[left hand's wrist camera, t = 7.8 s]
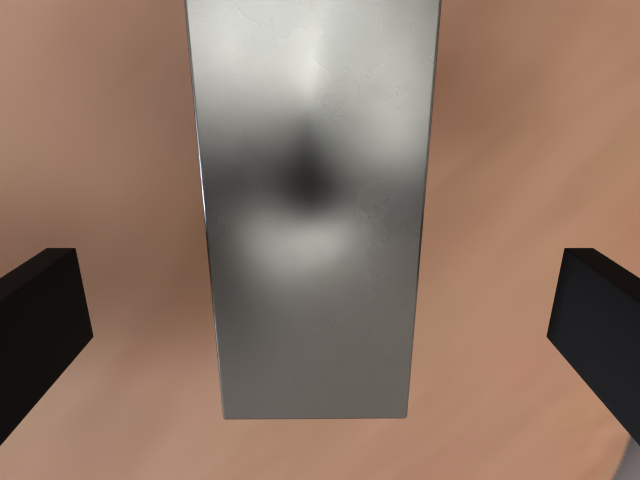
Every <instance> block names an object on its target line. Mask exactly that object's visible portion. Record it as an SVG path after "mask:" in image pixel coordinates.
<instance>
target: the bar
mask: <svg viewBox="0 0 640 480" xmlns="http://www.w3.org/2000/svg"><path fill="white" fill-rule="evenodd" d="M441 3H442V0H184V6H185V17H186V28H187V38H188V49H189V60H190V70H191V81H192V91H193V102H194V113H195V123H196V134H197V144H198V155H199V166H200V176H201V187H202V198H203V208H204V219H205V229H206V240H207V251H208V261H209V272H210V283H211V293H212V304H213V314H214V325H215V336H216V346H217V357H218V368H219V378H220V389H221V399H222V410H223V418H224V419H364V418H406V417H407V409H408V397H409V385H410V373H411V361H412V349H413V337H414V325H415V313H416V302H417V290H418V278H419V266H420V254H421V242H422V230H423V218H424V206H425V194H426V182H427V170H428V158H429V146H430V134H431V122H432V110H433V98H434V86H435V75H436V63H437V51H438V39H439V27H440V15H441Z"/></svg>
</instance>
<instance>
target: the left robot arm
mask: <svg viewBox="0 0 640 480" xmlns="http://www.w3.org/2000/svg"><path fill="white" fill-rule="evenodd" d="M92 338H93V332H92V327H91V322H90V317H89V312H88V308H87V303H86V298H85V293H84V288H83V283H82V278H81V273H80V268H79V263H78V258H77V253H76V248H46V249H45V250H43V251H42V252H40V253H39V254H37V255H36V256H34V257H32V258H31V259H29V260H28V261H26V262H25V263H23V264H22V265H20V266H19V267H17V268H15V269H14V270H12V271H11V272H9V273H8V274H6V275H5V276H3V277H2V278H0V446H1V444H2V443H3V442H4V441H5V440H6V439H7V437H8V436H9V435H10V434H11V433H12V431H13V430H14V429H15V428H16V427H17V426H18V424H19V423H20V422H21V421H22V420H23V419H24V417H25V416H26V415H27V414H28V413H29V412H30V410H31V409H32V408H33V407H34V406H35V405H36V403H37V402H38V401H39V400H40V399H41V398H42V396H43V395H44V394H45V393H46V392H47V391H48V389H49V388H50V387H51V386H52V385H53V383H54V382H55V381H56V380H57V379H58V378H59V376H60V375H61V374H62V373H63V372H64V371H65V369H66V368H67V367H68V366H69V365H70V364H71V362H72V361H73V360H74V359H75V358H76V357H77V355H78V354H79V353H80V352H81V351H82V350H83V348H84V347H85V346H86V345H87V344H88V343H89V341H90V340H91V339H92ZM547 338H548V339H549V340H550V341H551V343H552V344H553V345H554V346H555V347H556V348H557V350H558V351H559V352H560V353H561V354H562V355H563V357H564V358H565V359H566V360H567V361H568V362H569V364H570V365H571V366H572V367H573V368H574V369H575V371H576V372H577V373H578V374H579V375H580V376H581V378H582V379H583V380H584V381H585V382H586V383H587V385H588V386H589V387H590V388H591V389H592V391H593V392H594V393H595V394H596V395H597V396H598V398H599V399H600V400H601V401H602V402H603V403H604V405H605V406H606V407H607V408H608V409H609V410H610V412H611V413H612V414H613V415H614V416H615V417H616V419H617V420H618V421H619V422H620V423H621V424H622V426H623V427H624V428H625V429H626V430H627V431H628V433H629V434H630V435H631V436H632V437H633V438H634V440H635V441H636V442H637V443H638V444H639V446H640V278H638V277H637V276H635V275H634V274H632V273H631V272H629V271H628V270H626V269H625V268H623V267H621V266H620V265H618V264H617V263H615V262H614V261H612V260H611V259H609V258H608V257H606V256H604V255H603V254H601V253H600V252H598V251H597V250H595V249H594V248H564V253H563V258H562V263H561V268H560V273H559V278H558V283H557V288H556V293H555V298H554V303H553V308H552V312H551V317H550V322H549V327H548V332H547Z"/></svg>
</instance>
